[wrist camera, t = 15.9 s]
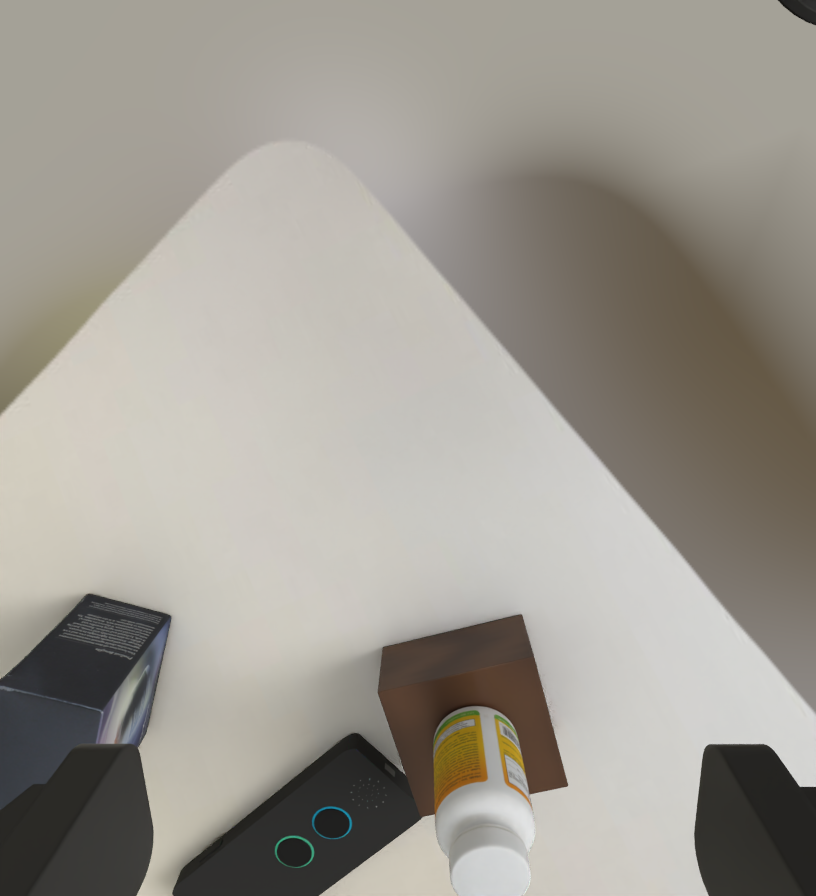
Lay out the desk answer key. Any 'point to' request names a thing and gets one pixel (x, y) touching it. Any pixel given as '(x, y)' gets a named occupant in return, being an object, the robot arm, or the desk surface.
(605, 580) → the desk surface
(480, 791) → the supplement bottle
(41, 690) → the small box
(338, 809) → the smart home device
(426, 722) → the walnut block
